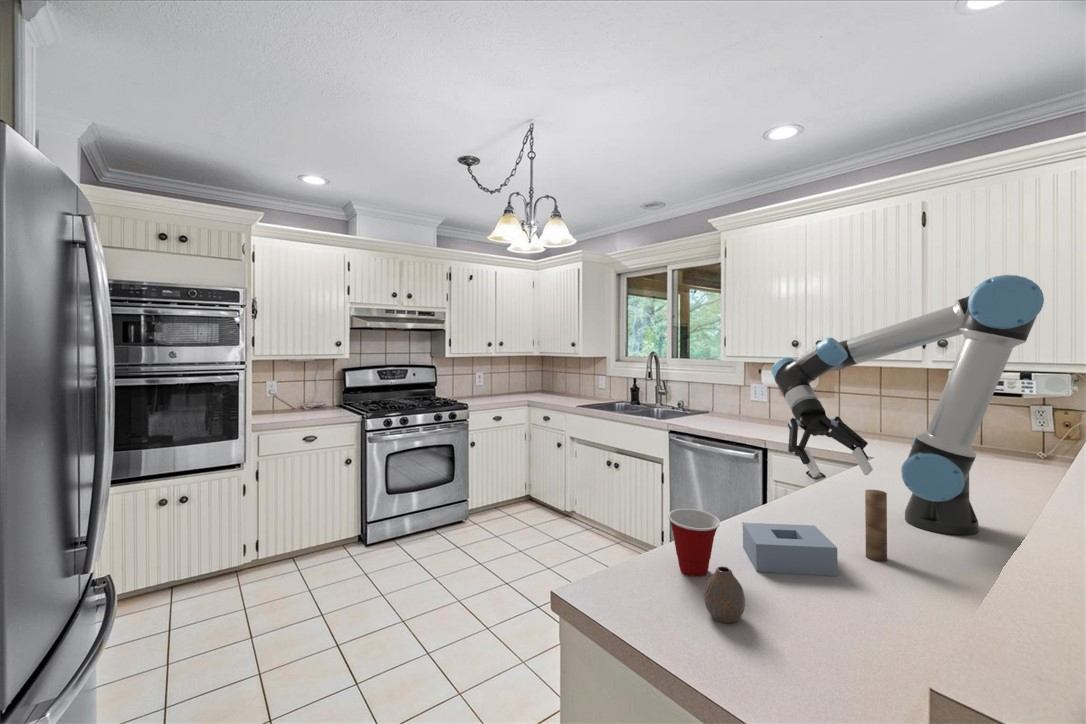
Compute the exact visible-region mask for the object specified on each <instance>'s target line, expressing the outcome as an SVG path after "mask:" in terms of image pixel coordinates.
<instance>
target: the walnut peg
mask: <svg viewBox="0 0 1086 724" xmlns="http://www.w3.org/2000/svg"><path fill="white" fill-rule="evenodd" d="M864 493H865V496H864V497H865V499H864V500H865V502H864V503H865V507H864V508H865V510H864V511H865V515H864V516H865V518H864V519H865V521H864V522H865V558H867V560H870V561H872V562H873V561H874V562H880V563H882V562H883V563H884V562H887V561H888V508H887V507H888V499H887V498H888V495H887V494H888V493H887V492H886V491H883V490H880V489H879V490H878V489H865V492H864Z"/></svg>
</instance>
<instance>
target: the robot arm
mask: <svg viewBox="0 0 1086 724" xmlns="http://www.w3.org/2000/svg"><path fill="white" fill-rule="evenodd" d="M1044 303H1045V298H1044V293H1043V291H1042V289H1041V287H1040V286H1039V285H1038V284H1037V283H1036V282H1035V281H1033V280H1032V279H1029V278H1028V277H1025V276H1020V275H1017V274H1016V275H1015V274H1014V275H1012V274H1003V275H997V276H994V277H990V278H987V279H986V280H983V281H982V282H981V283H979V284H978V285H977V286H976V287H975V288H974V289H973V290H971V293H970V294H969V295H968V296H966V297H962V298H960V299H956V301H955V303H954V304H953V305H951V306H948V307H944V308H941V309H939V310H936V311H932V312H929V313H926V314H923V315H920V316H917V317H913V318H910V319H908V320H905V321H904V320H903V321H901V322H898V323H896V324H892V325H889V326H886V327H883V328H880V329H877V330H873V331H871V332H868V333H864V334H862V335H858V336H854V337H852V338H848V339H846V340H842V341H839V342H838V340H836V339H835V338H834V337H826V338H825V339H824V340H821V341H819V342H818V343H816V345H814V346H813V347H812V348H811V349H808V350H807V351H806V352H805V353H803V354H802V355H800V356H799V357H797V358H796V359H794V358H792V357H784V358H782V359H779V360H777V361H776V362H774V364H773V365H772V366H771V374H772V377H773V378H774V382H775V384H777V386H778V389H779V390H780V392H781V394H782V396H783V398H784V400H785V402H786V404H787V405H788V408H789V410H791V413H792V415H793V417H791V418H790V420H789V421H788V423H787V427H788V430H789V435H788V447H787V448H788V449H787V450H788V451H787V452H789V453H790V454H791V453H794V455H795V456H796V457H799V459H800V461H801V462H802V464H803V465H805V466H806V467H807V469H808V472H809V474H810V475H811V477H812V478H817V476H818V475H819V474H820V473H821V470H820V468H819V465H818V464H817V463H816V461H815V459H814V456H813V454H812V453H811V451H810V449H809V448H806V446H807V444H808V442H809V439H810V437H811V435H812V437H817V436H822V437H823V436H826V437H828V438H831V439H833V440H835V441H837V442H838V443H840V444H841V445H843V446H845V447H846V448H848V449H850V450H851V451H852V452H851V455H852V456H853V458H854V460H855V461H856V463H857V465H858V467H859V468H860V470H861V472H862V473H863V475H864V476H868V475H870V473H872V471H874V468H873V466H872V465H871V463H870V462H869V457H868V455H867V453H866V452H865V451H864V449H865V448H866V447H867V446H868V445H869V443H868V441H866V440H865V439H864V438H863V437H862V436H861V435H860V434H858V433H856V432H855V430H853V429H852V428H850V427H849V426H848V425H847V424H846V423H844V421H843V420H842V419H841V417H840V416H835V417H834V418H829V417H828V415H827V414H826V409H825V407H823V405H822V402H821V401H820V399H819V397H818V395H817V394H816V392H815V391H814V389H813V388H812V387H813V386H812V385H811V383H812V382H814V381H815V380H817V379H819V378H820V377H821V376H823V375H825V374H826V373H828V372H833V371H840V370H843V369H845V368H848V367H852V366H856V365H859V364H862V363H864V362H865V363H866V362H870V361H873V360H875V359H876V360H877V359H879V358H883V357H886V356H889V355H893V354H898V353H901V352H904V351H908V350H911V349H914V348H917V347H922V346H925V345H928V344H932V343H935V342H938V341H943V340H946V339H949V338H953V337H956V336H960V335H963V338H964V339H963V341H962V344H961V346H960V348H959V351H958V352H957V355H956V358H955V361H954V363H953V366H952V368H951V371H950V373H949V375H948V377H947V380H946V383H945V386H944V389H943V390H942V393H941V395H940V398H939V400H938V403H937V406H936V409H934V413H933V416H932V418H931V420H930V423H929V426H928V427H927V431H924V432H922V433H920V434H917V435H916V436H915V437H914V438H913V439H912V444H911V449H910V451H909V454H908V455H907V456H908V457H907V458H906V459H905V461H904V462H903V464H902V466H901V468H900V469H901V478H902V479H901V480H902V481H903V484H904V486H906V487H907V489H908V490H909V491H910V492H911V493H912V494H911V495H910V498H909V500H908V502H907V505H906V508H905V511H904V520H905V522H907V523H908V524H909V525H911V526H914V527H917V528H919V529H922V530H926V531H930V532H933V533H934V532H935V533H939V534H945V535H957V536H967V535H968V536H969V535H975V534H977V533H978V532H979V526H980V525H979V520H978V518H977V516H976V513H975V511H974V508H973V505H972V503H971V500H970V471H971V468H972V466H973V464H974V462H975V459H976V457H977V453H976V452H975V450H974V448H973V447H972V445H973V442H974V440H975V438H976V435H977V433H978V431H979V429H980V426H981V424H982V422H983V419H984V416H985V415H986V412H987V410H988V407H989V405H990V403H991V400H992V399H993V395H994V393H995V392H996V389H997V386H998V384H999V382H1000V379H1001V377H1002V374H1003V372H1004V371H1005V367H1006V366H1007V363H1008V361H1009V358H1010V357H1011V354H1012V351H1013V349H1014V348H1015V347H1019V346H1020V345H1022V344H1025V343H1026V342H1027V339H1028V337H1029V336H1030V335H1029V334H1030V333H1031V330H1032V329H1033V326H1034V324H1035V321H1036V319H1037V317H1038V315H1039V314H1040V312H1041V311H1042V309H1043V305H1044ZM799 427H800V429H803V430H804V431H803V433H802V436H801V439H800V441H799V444H798V433H799ZM830 430H831V431H830Z"/></svg>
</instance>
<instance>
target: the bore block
mask: <svg viewBox="0 0 1086 724" xmlns="http://www.w3.org/2000/svg"><path fill="white" fill-rule="evenodd" d="M742 547H743V550H744V551H745V554H746V555H747V558H748V559H749V561H750V562H751V564H752V566H753V568H754V570H755V572H757V573H759V572H760V573H775V574H776V573H778V574H794V575H798V574H799V575H812V576H814V575H815V576H829V577H831V576H832V577H838V572H839V571H838V568H839V567H838V547H837V546H836V544H834V543H833V542H832V541H831V540H830V539H829V538H828V537H827V536H826V535H825V534H824V533H823V532H822V531H821V530H820V529H819V528H818V527H817V526H816V525H813V524H811V525H810V524H807V525H806V524H790V523H789V524H784V523H783V524H782V523H763V522H762V523H760V522H742Z"/></svg>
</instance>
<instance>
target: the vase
mask: <svg viewBox="0 0 1086 724" xmlns="http://www.w3.org/2000/svg"><path fill="white" fill-rule="evenodd" d="M703 597H704V598H703V599H704V605H705V608H706V610H707V612H708V613H709V615H710V616H712V618H713V619H714V620H716V621H717V622H719V623H723V624H733V623H735V622H737V621H739V620H740V619H741V617H742V615H743V614H744V611H745V607H746V597H745V591H744V589H743V587H742V585H741V584H740V582H739V580H738V579H737V578H736V577H735V575H734V574H733V571H732V569H731V568H730V567H727V566H722V565H721V566H718V567H717V568H716V569H715V572H714V573H713V574H712V575H711V576H710V577H709V578H708V580H707V581H706V584H705V586H704V592H703Z"/></svg>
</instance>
